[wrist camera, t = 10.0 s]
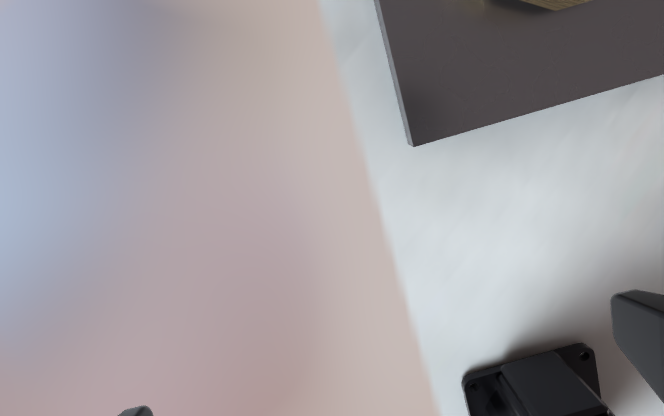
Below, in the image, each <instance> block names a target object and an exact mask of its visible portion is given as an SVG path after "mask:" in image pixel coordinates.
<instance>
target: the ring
mask: <svg viewBox="0 0 664 416" xmlns="http://www.w3.org/2000/svg"><path fill="white" fill-rule="evenodd" d="M521 1H524V2H527V3H531V4H534V5H537V6H540V7H544V8H547V9H550V10H554V11H557V10H560V9H564V8H567V7H571V6H574V5H578V4H581V3H585V2H588V1H592V0H521Z"/></svg>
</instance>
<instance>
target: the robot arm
mask: <svg viewBox="0 0 664 416" xmlns="http://www.w3.org/2000/svg"><path fill="white" fill-rule="evenodd" d="M610 304H611V316H612V329H613V335H614V339H615V341H616V343H617V345H618V346H619V348H620V349H621V350H622V351H623V353H624V354H625V355H626V356H627V358H628V359H629V360H630V361H631V363H632V364H633V365H634V366H635V368H636V369H637V370H638V371H639V373H640V374H641V375H642V377H643V378H644V379H645V380H646V382H647V383H648V384H649V385H650V387H651V388H652V389H653V390H654V392H655V393H656V394H657V395H658V397H659V398H660V399H661V400H662V402H663V403H664V295H661V294H656V293H651V292H646V291H640V290H629V291H625V292H621V293H617V294H614V295H613V296H612V297H611V303H610ZM583 352H584V354H583V355H582V356H580V354H581V353H583ZM473 383H476V385H475V386H473V387H469V386H470V385H471V384H473ZM462 389H463V393H464V398H465V402H466V406H467V410H468V414H469V416H615V415H614V414H613V413H612V412H611V410H610V409H609V408H608V407H607V405H606V404H605V403H604V402H603V401H602V400H601V395H600V388H599V381H598V374H597V368H596V361H595V354H594V351H593V350H592V349H591V348H590V347H589V346H588V345H586V344H584V343H578V344H574V345H571V346H567V347H563V348H560V349H556V350H553V351H549V352H546V353H542V354H539V355H535V356H532V357H528V358H525V359H521V360H517V361H514V362H510V363H507V364H503V365H500V366H496V367H493V368H489V369H486V370H482V371H478V372H475V373H471V374H468V375H466V376H465V377H464V378H463V380H462ZM118 416H153V413H152V411H151V410H150V408H149V407H147V406H139V407H135V408H131V409H127V410H125V411H123V412H122V413H121V414H119V415H118Z"/></svg>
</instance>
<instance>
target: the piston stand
mask: <svg viewBox="0 0 664 416" xmlns="http://www.w3.org/2000/svg"><path fill="white" fill-rule="evenodd" d="M374 3H375V7H376V11H377V16H378V20H379V24H380V28H381V32H382V36H383V41H384V45H385V49H386V53H387V57H388V62H389V66H390V70H391V74H392V78H393V82H394V87H395V91H396V95H397V99H398V103H399V108H400V112H401V116H402V120H403V124H404V128H405V133H406V137H407V141H408V144H409V145H411V146H413V147H416V146H419V145H422V144H426V143H429V142H433V141H436V140H440V139H443V138H446V137H450V136H453V135H457V134H460V133H464V132H467V131H470V130H474V129H477V128H481V127H484V126H488V125H491V124H494V123H498V122H501V121H505V120H508V119H511V118H515V117H518V116H522V115H525V114H529V113H532V112H535V111H539V110H542V109H546V108H549V107H553V106H556V105H559V104H563V103H566V102H570V101H573V100H577V99H580V98H583V97H587V96H590V95H594V94H597V93H601V92H604V91H607V90H611V89H614V88H618V87H621V86H625V85H628V84H631V83H635V82H638V81H642V80H645V79H649V78H652V77H655V76H659V75H662V74H664V0H592V1H588V2H585V3H581V4H578V5H574V6H571V7H567V8H564V9H560V10H557V11H554V10H550V9H547V8H544V7H540V6H537V5H534V4H531V3H527V2H524V1H521V0H374Z"/></svg>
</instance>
